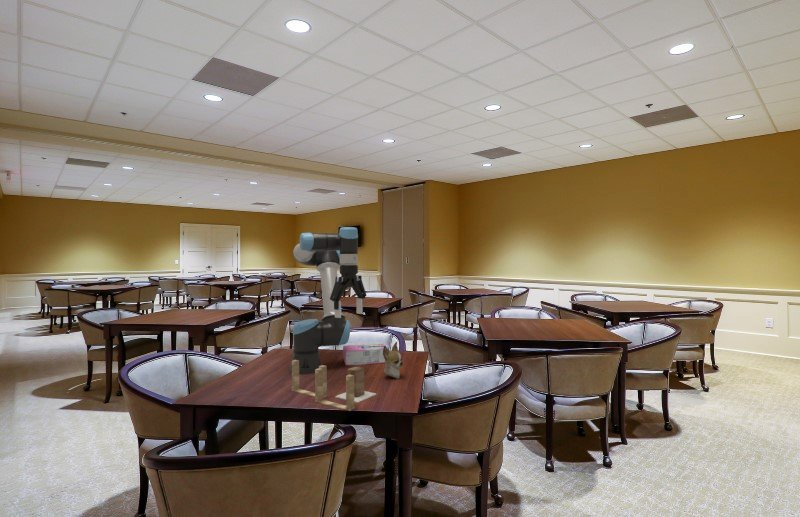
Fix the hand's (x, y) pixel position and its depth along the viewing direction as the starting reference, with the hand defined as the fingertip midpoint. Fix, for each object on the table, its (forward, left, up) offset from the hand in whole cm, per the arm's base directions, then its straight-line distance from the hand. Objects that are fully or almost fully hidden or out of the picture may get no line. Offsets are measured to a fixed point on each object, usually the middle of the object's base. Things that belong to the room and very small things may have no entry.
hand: (349, 315), depth 176 cm
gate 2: (+12, -22, -29) cm, 38 cm away
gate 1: (-5, -18, -29) cm, 34 cm away
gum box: (-14, +30, -25) cm, 41 cm away
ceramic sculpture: (+10, +18, -29) cm, 35 cm away
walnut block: (+12, -10, -28) cm, 32 cm away
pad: (+12, -10, -29) cm, 33 cm away
